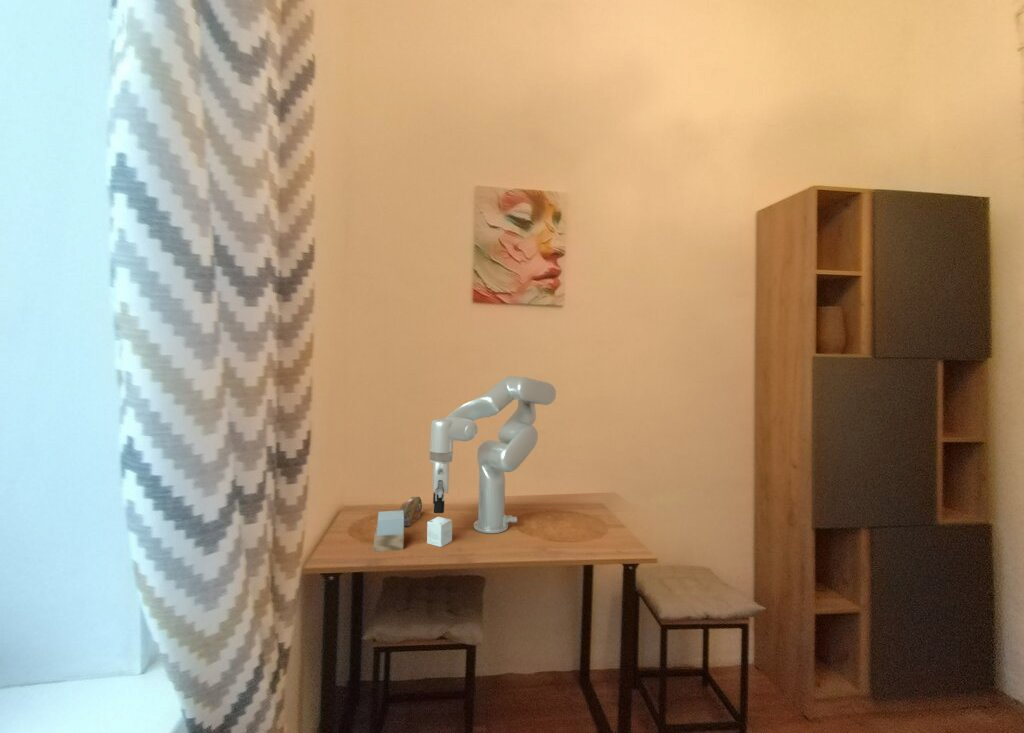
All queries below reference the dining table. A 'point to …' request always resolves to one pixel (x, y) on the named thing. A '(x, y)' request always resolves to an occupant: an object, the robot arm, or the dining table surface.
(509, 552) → the dining table surface
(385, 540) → the block
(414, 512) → the tin
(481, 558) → the dining table surface
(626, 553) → the dining table surface
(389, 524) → the tower top
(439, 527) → the skincare box
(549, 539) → the dining table surface
